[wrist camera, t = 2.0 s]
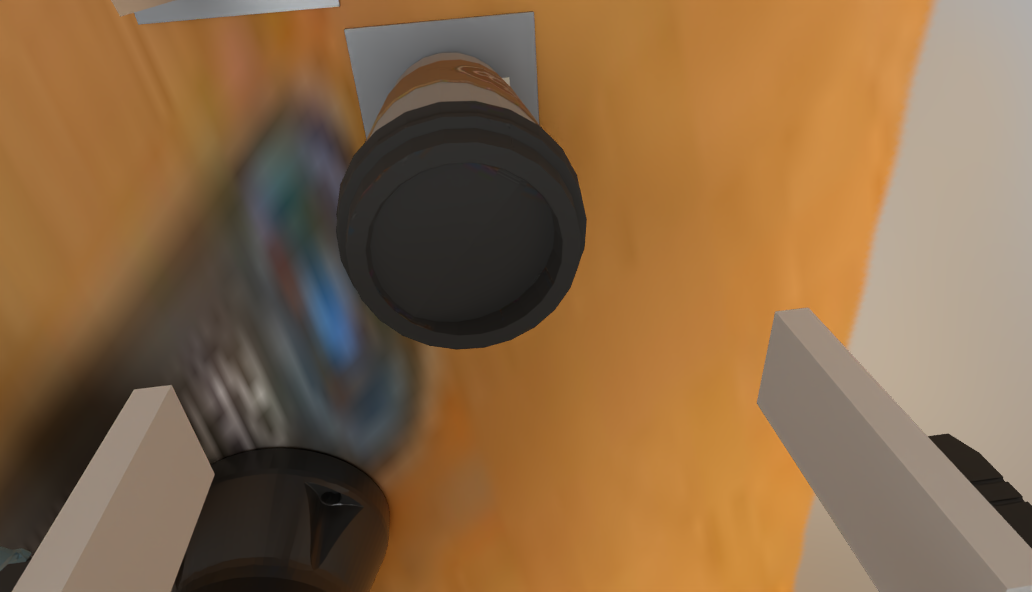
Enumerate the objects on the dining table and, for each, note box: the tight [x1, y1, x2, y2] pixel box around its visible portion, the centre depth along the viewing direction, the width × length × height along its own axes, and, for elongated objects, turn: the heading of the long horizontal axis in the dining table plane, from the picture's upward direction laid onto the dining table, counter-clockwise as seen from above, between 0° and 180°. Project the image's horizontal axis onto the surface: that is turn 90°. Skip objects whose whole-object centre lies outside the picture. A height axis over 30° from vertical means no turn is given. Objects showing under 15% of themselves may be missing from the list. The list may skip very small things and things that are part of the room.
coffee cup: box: [336, 53, 587, 349], centre depth 25 cm, size 8×8×15 cm
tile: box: [344, 11, 539, 139], centre depth 32 cm, size 9×9×1 cm
